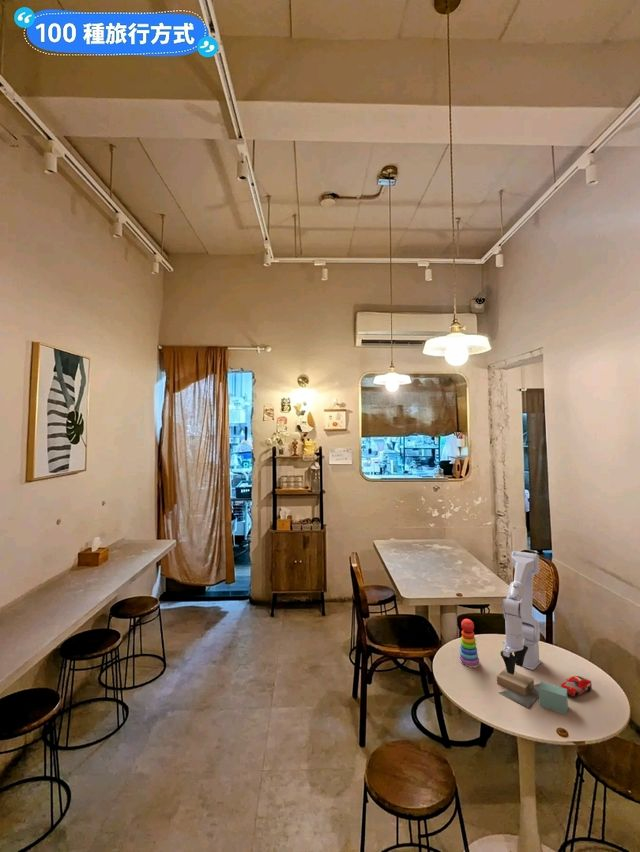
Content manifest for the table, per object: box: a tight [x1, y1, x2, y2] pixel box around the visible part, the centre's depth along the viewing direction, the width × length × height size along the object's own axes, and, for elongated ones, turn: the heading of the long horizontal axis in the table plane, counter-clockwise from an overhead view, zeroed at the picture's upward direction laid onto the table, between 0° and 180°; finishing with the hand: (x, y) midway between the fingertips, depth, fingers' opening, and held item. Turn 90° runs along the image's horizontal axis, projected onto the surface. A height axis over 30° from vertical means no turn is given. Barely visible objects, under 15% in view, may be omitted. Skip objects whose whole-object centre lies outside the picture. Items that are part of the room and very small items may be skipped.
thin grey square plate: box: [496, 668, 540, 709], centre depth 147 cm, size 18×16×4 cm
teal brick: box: [538, 680, 569, 715], centre depth 137 cm, size 5×8×6 cm, turn 54°
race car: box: [560, 675, 593, 698], centre depth 144 cm, size 13×5×4 cm, turn 116°
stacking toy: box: [459, 618, 480, 668], centre depth 162 cm, size 8×8×19 cm
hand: (514, 669), depth 147 cm, fingers open, 7 cm apart
